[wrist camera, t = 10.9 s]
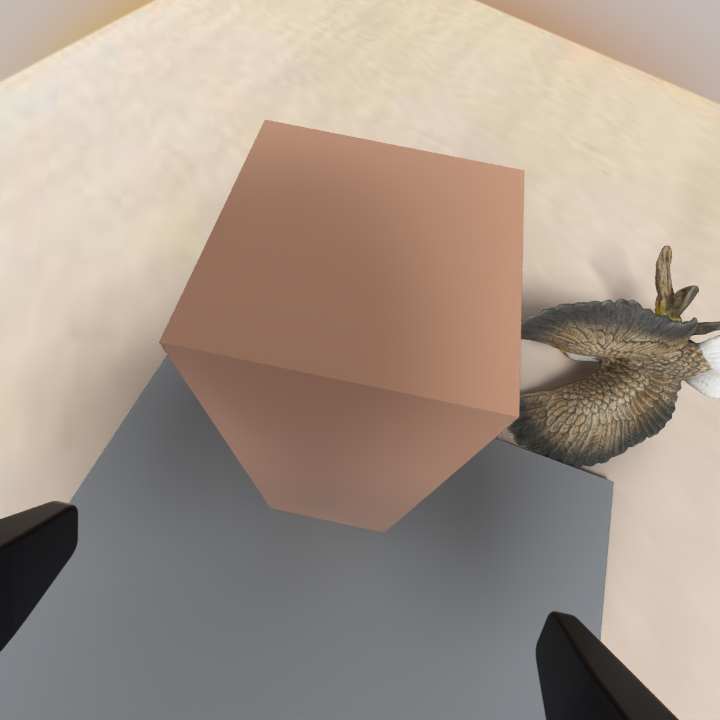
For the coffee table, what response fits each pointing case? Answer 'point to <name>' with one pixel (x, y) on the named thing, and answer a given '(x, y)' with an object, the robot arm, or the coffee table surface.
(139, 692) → the mat
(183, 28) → the coffee table surface
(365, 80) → the coffee table surface
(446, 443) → the block
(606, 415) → the grey brown animal figure
